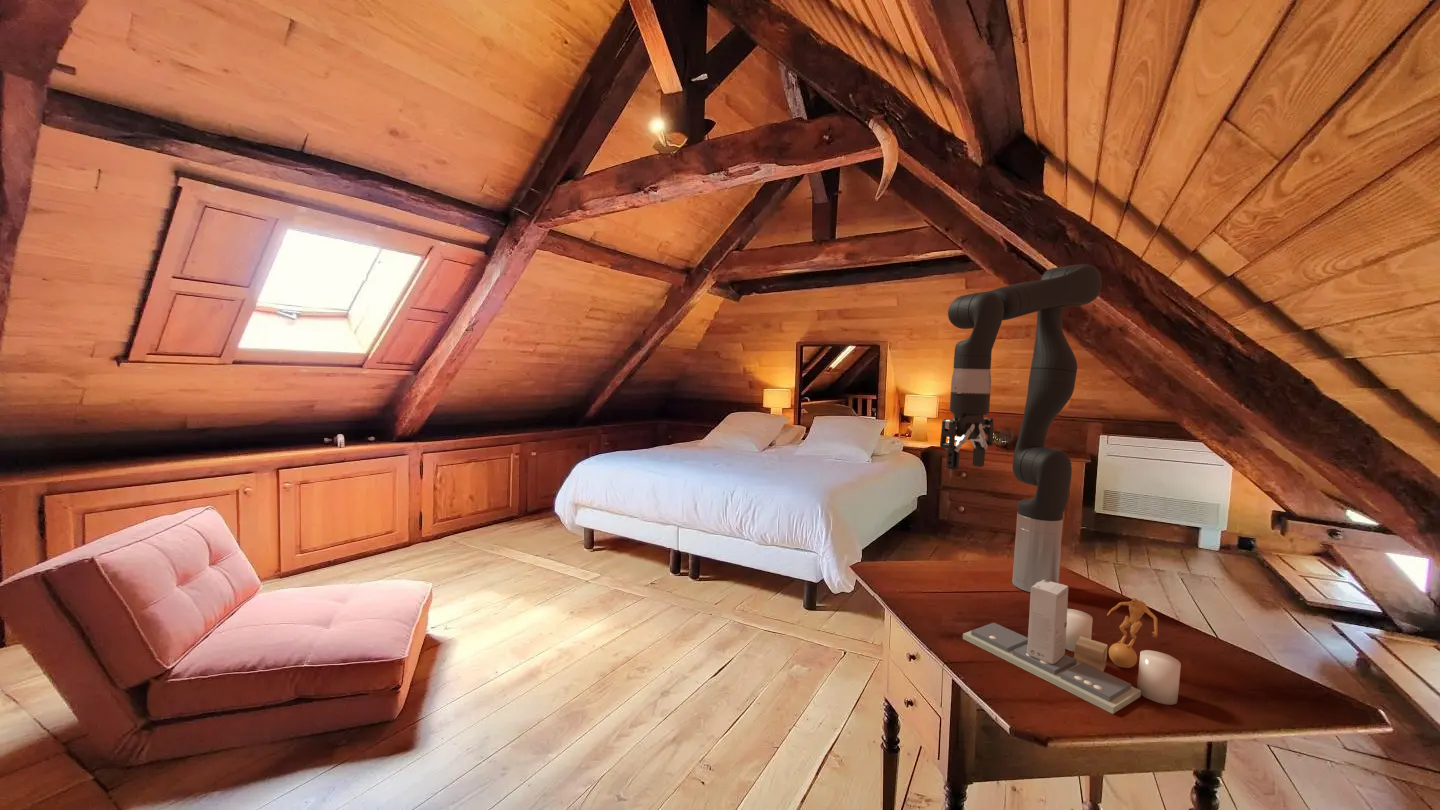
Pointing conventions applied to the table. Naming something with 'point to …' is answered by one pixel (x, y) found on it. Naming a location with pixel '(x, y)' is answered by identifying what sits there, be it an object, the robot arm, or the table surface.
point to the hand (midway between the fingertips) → (965, 467)
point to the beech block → (1091, 653)
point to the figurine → (1123, 652)
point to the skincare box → (1047, 621)
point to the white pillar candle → (1159, 677)
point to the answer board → (1056, 669)
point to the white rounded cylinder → (1077, 627)
